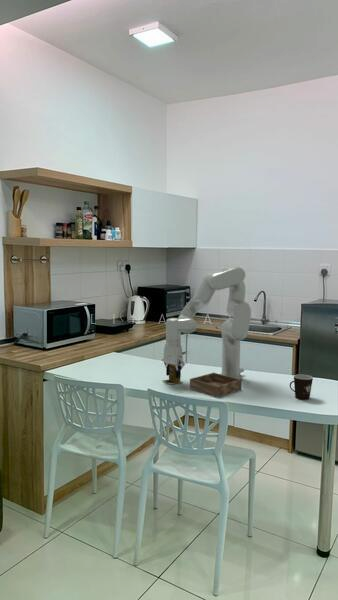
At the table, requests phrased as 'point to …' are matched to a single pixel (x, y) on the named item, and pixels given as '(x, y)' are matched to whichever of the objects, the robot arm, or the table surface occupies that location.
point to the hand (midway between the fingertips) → (173, 375)
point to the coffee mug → (302, 386)
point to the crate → (215, 384)
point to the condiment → (172, 375)
